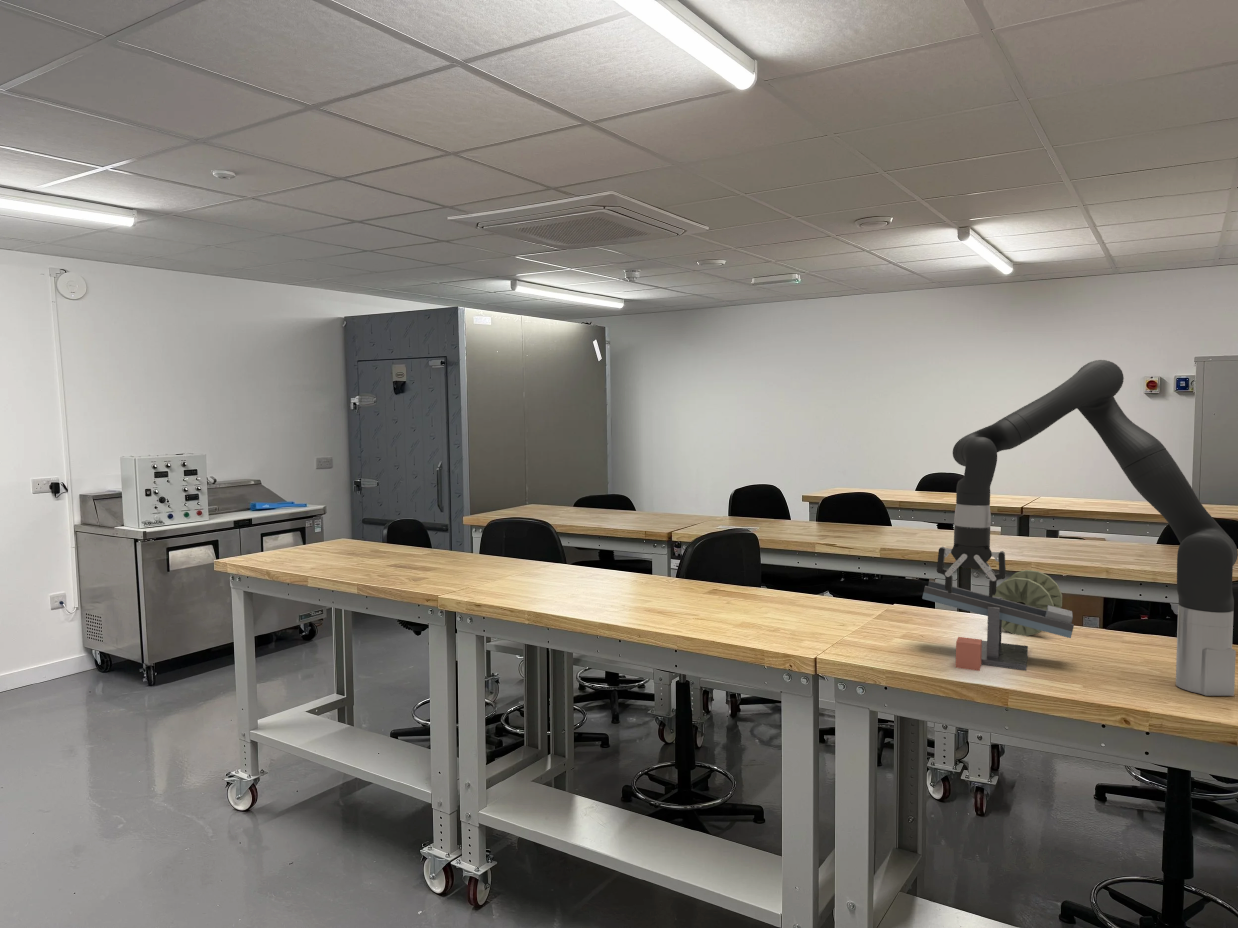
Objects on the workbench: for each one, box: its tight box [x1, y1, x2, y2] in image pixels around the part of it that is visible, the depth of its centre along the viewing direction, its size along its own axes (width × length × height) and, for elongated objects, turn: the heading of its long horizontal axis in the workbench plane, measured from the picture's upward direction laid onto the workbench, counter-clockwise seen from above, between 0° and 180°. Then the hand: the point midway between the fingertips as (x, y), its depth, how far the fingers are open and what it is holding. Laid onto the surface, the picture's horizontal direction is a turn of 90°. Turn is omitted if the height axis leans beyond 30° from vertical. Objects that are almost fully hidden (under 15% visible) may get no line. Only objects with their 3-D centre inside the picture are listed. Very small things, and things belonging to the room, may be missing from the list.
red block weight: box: [955, 636, 983, 672], centre depth 177 cm, size 5×5×6 cm
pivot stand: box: [981, 597, 1029, 671], centre depth 185 cm, size 14×18×13 cm
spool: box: [993, 569, 1063, 637], centre depth 212 cm, size 16×15×15 cm
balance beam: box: [921, 580, 1075, 639], centre depth 185 cm, size 32×11×5 cm, turn 61°
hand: (970, 594), depth 177 cm, fingers open, 8 cm apart
